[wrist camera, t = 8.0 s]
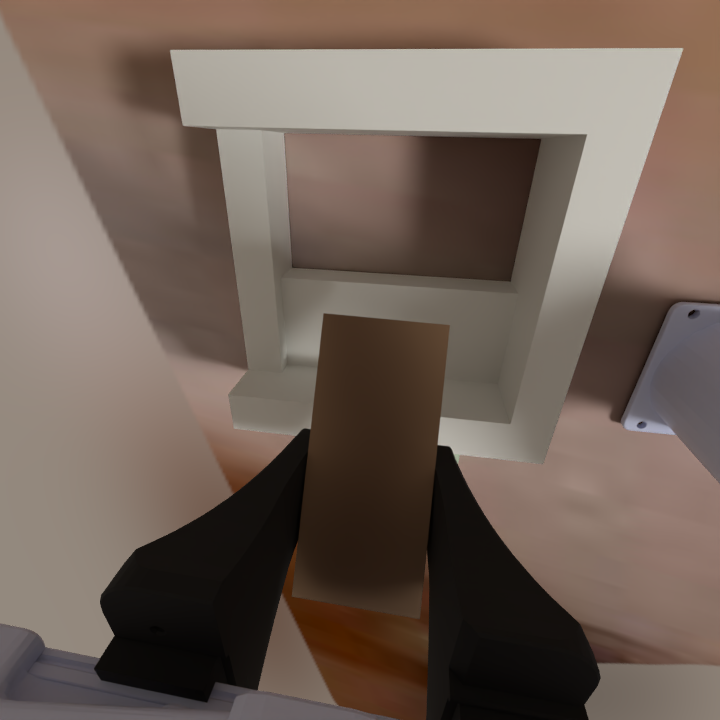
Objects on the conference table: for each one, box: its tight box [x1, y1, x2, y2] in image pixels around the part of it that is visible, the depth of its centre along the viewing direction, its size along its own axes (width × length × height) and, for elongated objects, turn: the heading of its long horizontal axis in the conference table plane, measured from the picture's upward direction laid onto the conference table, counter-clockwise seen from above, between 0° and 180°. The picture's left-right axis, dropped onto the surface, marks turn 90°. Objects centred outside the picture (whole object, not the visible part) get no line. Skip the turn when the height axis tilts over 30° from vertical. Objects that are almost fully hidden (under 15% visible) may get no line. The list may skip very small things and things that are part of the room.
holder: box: [170, 48, 683, 464], centre depth 18 cm, size 16×16×6 cm
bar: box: [292, 313, 450, 619], centre depth 14 cm, size 4×9×4 cm, turn 177°
